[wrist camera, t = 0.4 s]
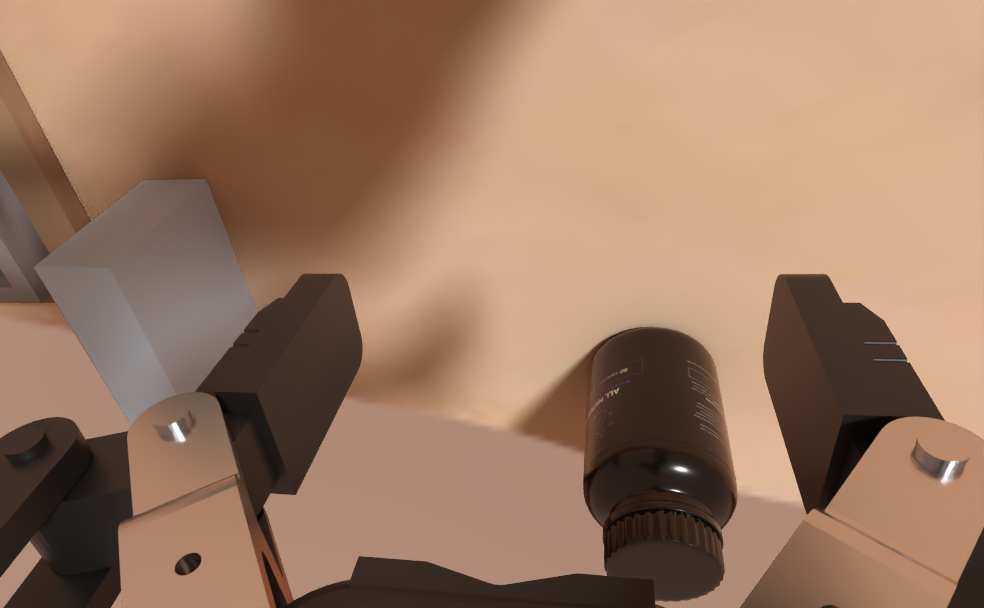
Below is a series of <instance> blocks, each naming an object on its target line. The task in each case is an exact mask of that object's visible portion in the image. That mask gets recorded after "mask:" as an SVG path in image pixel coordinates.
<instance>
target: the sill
mask: <svg viewBox="0 0 984 608" xmlns="http://www.w3.org/2000/svg"><path fill="white" fill-rule="evenodd" d="M88 223H90V220H89V218H88V216H87V215H86V213H85V211H84V209H83V207H82V205H81V203H80V201H79V199H78V197H77V196H76V194H75V192H74V190H73V188H72V186H71V184H70V182H69V180H68V178H67V177H66V175H65V173H64V171H63V169H62V167H61V165H60V163H59V161H58V160H57V158H56V156H55V154H54V152H53V150H52V148H51V146H50V144H49V142H48V141H47V139H46V137H45V135H44V133H43V131H42V129H41V127H40V125H39V123H38V122H37V120H36V118H35V116H34V114H33V112H32V110H31V108H30V106H29V104H28V103H27V101H26V99H25V97H24V95H23V93H22V91H21V89H20V87H19V85H18V84H17V82H16V80H15V78H14V76H13V74H12V72H11V70H10V68H9V67H8V65H7V63H6V61H5V59H4V57H3V55H2V53H1V51H0V302H13V303H42V302H55V301H54V299H53V298H52V296H51V294H50V293H49V291H48V290H47V288H46V286H45V285H44V283H43V281H42V280H41V278H40V277H39V275H38V273H37V272H36V270H35V269H34V266H36V265H37V264H38V263H39V262H41V261H42V260H43V259H44V258H46V257H47V256H48V255H49V254H51V253H52V252H53V251H55V250H56V249H57V248H58V247H60V246H61V245H62V244H63V243H65V242H66V241H67V240H68V239H70V238H71V237H72V236H73V235H75V234H76V233H77V232H78V231H80V230H81V229H82V228H83V227H85V226H86V225H87V224H88Z"/></svg>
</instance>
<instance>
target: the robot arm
mask: <svg viewBox="0 0 984 608" xmlns="http://www.w3.org/2000/svg"><path fill="white" fill-rule="evenodd" d="M896 342H897V341H896V340H895V338H894V336H893V335H892V333H891V331H890V330H889V328H888V326H887V325H886V323H885V321H884V320H882V319H881V318H880V317H878V316H877V315H876V314H874V313H873V312H872V311H870V310H869V309H867V308H866V307H865V306H863V305H862V304H861V303H843V302H842V300H841V298H840V296H839V295H838V293H837V291H836V289H835V287H834V285H833V284H832V282H831V280H830V278H829V277H828V276H827V275H826V274H780V275H779V276H778V277H777V280H776V283H775V287H774V292H773V298H772V304H771V309H770V315H769V321H768V326H767V332H766V338H765V343H764V352H763V366H764V375H765V380H766V383H767V386H768V390H769V393H770V396H771V399H772V403H773V406H774V409H775V413H776V416H777V419H778V422H779V426H780V429H781V432H782V435H783V439H784V442H785V445H786V448H787V452H788V455H789V458H790V462H791V465H792V468H793V471H794V475H795V478H796V481H797V484H798V488H799V491H800V494H801V497H802V501H803V504H804V507H805V510H806V514H807V516H806V517H805V519H804V520H803V521H802V523H801V524H800V525H799V527H798V528H797V530H796V531H795V532H794V534H793V535H792V536H791V538H790V539H789V541H788V542H787V543H786V545H785V546H784V547H783V549H782V550H781V552H780V553H779V554H778V556H777V557H776V558H775V560H774V561H773V563H772V564H771V565H770V567H769V568H768V570H767V571H766V572H765V574H764V575H763V576H762V578H761V579H760V581H759V582H758V583H757V585H756V586H755V587H754V589H753V590H752V592H751V593H750V594H749V596H748V597H747V598H746V600H745V601H744V603H743V604H742V605H741V607H740V608H984V440H983V439H982V438H980V437H979V436H978V435H976V434H974V433H972V432H971V431H969V430H967V429H965V428H963V427H960V426H958V425H955V424H953V423H950V422H947V421H945V420H944V418H943V417H942V415H941V413H940V412H939V410H938V409H937V407H936V405H935V404H934V402H933V400H932V399H931V397H930V395H929V394H928V392H927V390H926V389H925V387H924V386H923V384H922V382H921V381H920V379H919V377H918V376H917V374H916V372H915V371H914V369H913V367H912V366H911V364H910V363H907V358H906V356H905V354H904V353H903V351H902V349H901V348H900V346H899V345H896ZM361 359H362V338H361V333H360V330H359V326H358V322H357V318H356V314H355V310H354V306H353V302H352V298H351V294H350V290H349V286H348V282H347V280H346V278H345V277H344V276H343V275H342V274H303V275H302V276H301V277H300V278H299V279H298V281H297V282H296V283H295V284H294V286H293V287H292V288H291V290H290V291H289V292H288V294H287V295H286V296H285V298H278V299H277V300H275V301H274V302H272V303H271V304H269V305H268V306H267V307H265V308H264V309H262V310H261V311H259V312H258V313H257V314H256V315H255V316H254V318H253V319H252V320H251V321H250V323H249V324H248V325H247V326H246V328H245V329H244V333H241V334H240V335H239V336H238V338H237V339H236V340H235V342H234V343H233V347H230V348H229V349H228V350H227V352H226V353H225V354H224V355H223V357H222V358H221V359H220V361H219V362H218V363H217V364H216V366H215V367H214V368H213V369H212V371H211V372H210V373H209V374H208V376H207V377H206V378H205V379H204V381H203V382H202V383H201V385H200V386H199V387H198V388H197V390H196V391H195V392H189V393H183V394H178V395H175V396H172V397H169V398H166V399H164V400H162V401H160V402H158V403H156V404H154V405H153V406H151V407H149V408H148V409H147V410H145V411H144V412H143V413H142V414H141V415H140V416H138V417H137V418H136V420H135V421H134V422H133V423H132V425H131V427H130V429H129V431H127V432H122V433H117V434H112V435H107V436H102V437H97V438H92V439H86V440H85V438H84V437H83V435H82V433H81V432H80V430H79V428H78V427H77V425H76V424H75V423H74V422H73V421H72V420H70V419H67V418H61V417H54V418H46V419H41V420H38V421H34V422H32V423H29V424H26V425H23V426H21V427H19V428H17V429H15V430H13V431H11V432H9V433H8V434H6V435H5V436H3V437H2V438H0V577H1V576H2V575H3V573H4V572H5V571H6V570H7V568H8V567H9V566H10V564H11V563H12V562H13V561H14V559H15V558H16V557H17V556H18V554H19V553H20V552H21V551H22V549H23V548H24V547H25V546H26V544H27V543H28V542H29V541H30V542H31V543H32V544H33V546H34V547H35V548H36V550H37V551H38V552H39V553H40V555H41V556H42V558H41V559H40V560H39V562H38V563H37V564H36V566H35V567H34V568H33V570H32V571H31V572H30V574H29V575H28V576H27V578H26V579H25V580H24V582H23V583H22V584H21V585H20V587H19V588H18V589H17V591H16V592H15V594H14V595H13V596H12V597H11V599H10V600H9V601H8V603H7V604H6V605H5V607H4V608H111V606H112V605H113V603H114V601H115V600H116V598H117V596H118V595H119V593H120V592H121V595H122V608H664V607H662V606H659V605H656V604H655V594H654V580H652V579H639V578H627V577H614V576H601V575H588V574H571V575H564V576H558V577H552V578H545V579H539V580H533V581H526V582H520V583H514V584H507V585H494V584H490V583H487V582H484V581H481V580H478V579H476V578H473V577H470V576H467V575H464V574H461V573H458V572H455V571H452V570H449V569H447V568H444V567H441V566H438V565H435V564H432V563H429V562H425V561H411V560H399V559H386V558H374V557H362V556H359V558H358V560H357V563H356V566H355V568H354V571H353V574H352V577H351V579H350V580H346V581H341V582H338V583H334V584H331V585H327V586H325V587H322V588H319V589H317V590H314V591H312V592H309V593H307V594H306V595H304V596H302V597H300V598H298V599H296V600H294V599H293V596H292V593H291V590H290V587H289V584H288V581H287V578H286V574H285V571H284V568H283V564H282V561H281V558H280V555H279V552H278V548H277V545H276V542H275V538H274V535H273V532H272V529H271V525H270V522H269V519H268V516H267V514H266V511H265V509H264V507H263V506H264V504H265V502H266V500H267V498H268V497H269V495H270V493H275V494H290V495H296V493H297V491H298V489H299V487H300V485H301V483H302V481H303V479H304V477H305V475H306V473H307V471H308V469H309V467H310V465H311V463H312V461H313V459H314V457H315V455H316V453H317V451H318V449H319V447H320V445H321V443H322V441H323V439H324V437H325V435H326V433H327V431H328V429H329V427H330V425H331V423H332V421H333V419H334V417H335V415H336V413H337V411H338V409H339V407H340V405H341V403H342V401H343V399H344V397H345V395H346V393H347V391H348V389H349V387H350V385H351V383H352V381H353V379H354V377H355V375H356V373H357V371H358V369H359V367H360V364H361Z"/></svg>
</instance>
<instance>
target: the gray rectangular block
mask: <svg viewBox="0 0 984 608" xmlns="http://www.w3.org/2000/svg"><path fill="white" fill-rule="evenodd" d="M34 269H35V270H36V272H37V273H38V275H39V277H40V278H41V280H42V281H43V283H44V285H45V286H46V288H47V290H48V291H49V293H50V294H51V296H52V298H53V299H54V301H55V303H56V304H57V306H58V307H59V309H60V311H61V312H62V314H63V316H64V317H65V319H66V320H67V322H68V324H69V325H70V327H71V328H72V330H73V332H74V333H75V335H76V336H77V338H78V340H79V341H80V343H81V345H82V346H83V348H84V350H85V351H86V353H87V354H88V356H89V358H90V359H91V361H92V363H93V364H94V366H95V367H96V369H97V371H98V372H99V374H100V375H101V377H102V379H103V380H104V382H105V384H106V385H107V387H108V388H109V390H110V392H111V393H112V395H113V397H114V398H115V400H116V401H117V403H118V405H119V406H120V408H121V410H122V411H123V413H124V414H125V416H126V418H127V419H128V421H129V423H130V424H131V425H132V423H133V422H134V421H135V420H136V418H137V417H138V416H140V415H141V414H142V413H143V412H144V411H145V410H147V409H148V408H149V407H151V406H153V405H154V404H156V403H158V402H160V401H162V400H164V399H166V398H169V397H172V396H175V395H178V394H183V393H189V392H195V391H196V390H197V388H198V387H199V386H200V385H201V383H202V382H203V381H204V379H205V378H206V377H207V376H208V374H209V373H210V372H211V371H212V369H213V368H214V367H215V366H216V364H217V363H218V362H219V361H220V359H221V358H222V357H223V355H224V354H225V353H226V352H227V350H228V349H229V348H230V347H233V343H234V342H235V340H236V339H237V338H238V336H239V335H240V334H241V333H244V329H245V328H246V326H247V325H248V324H249V323H250V321H251V320H252V319H253V318H254V316H255V315H256V314H257V313H258V312H257V309H256V307H255V304H254V301H253V299H252V296H251V294H250V291H249V289H248V286H247V283H246V281H245V278H244V276H243V273H242V270H241V268H240V265H239V263H238V260H237V257H236V255H235V252H234V250H233V247H232V245H231V242H230V239H229V237H228V234H227V232H226V229H225V226H224V224H223V221H222V219H221V216H220V214H219V211H218V208H217V206H216V203H215V201H214V198H213V195H212V193H211V190H210V188H209V185H208V182H207V180H206V179H164V180H142V181H141V182H140V183H139V184H137V185H136V186H135V187H134V188H132V189H131V190H130V191H129V192H127V193H126V194H125V195H124V196H122V197H121V198H120V199H119V200H117V201H116V202H115V203H114V204H112V205H111V206H110V207H109V208H107V209H106V210H105V211H104V212H102V213H101V214H100V215H98V216H97V217H96V218H95V219H93V220H92V221H91V222H90V223H88V224H87V225H86V226H85V227H83V228H82V229H81V230H80V231H78V232H77V233H76V234H75V235H73V236H72V237H71V238H70V239H68V240H67V241H66V242H65V243H63V244H62V245H61V246H60V247H58V248H57V249H56V250H55V251H53V252H52V253H51V254H49V255H48V256H47V257H46V258H44V259H43V260H42V261H41V262H39V263H38V264H37V265H36V266H34Z"/></svg>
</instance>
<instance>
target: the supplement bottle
mask: <svg viewBox="0 0 984 608" xmlns="http://www.w3.org/2000/svg"><path fill="white" fill-rule="evenodd" d="M583 485H584V486H583V489H584V498H585V502H586V505H587V507H588V509H589V511H590V513H591V514H592V516H593V517H594V519H595V520H596V521H597V522H598V523H599V524H600V525H601V526H602V527H603V543H604V567H605V571H606V572H607V576H614V577H627V578H639V579H652V580H654V594H655V601H665V602H666V601H681V600H690V599H693V598H698V597H700V596H703V595H707V594H708V593H709V592H711V591H714V589H715V588H716V587H718V586H719V585H720V582H721V581H722V580H723V575H724V562H723V555H722V549H723V538H722V532H721V530H722V529H723V528H724V526H725V525H726V524H727V523H728V522H729V520H730V519H731V517H732V515H733V513H734V510H735V508H736V504H737V497H738V495H737V483H736V477H735V472H734V466H733V460H732V455H731V449H730V443H729V438H728V432H727V426H726V420H725V415H724V409H723V403H722V398H721V392H720V386H719V381H718V376H717V371H716V367H715V364H714V361H713V359H712V357H711V355H710V354H709V352H708V351H707V350H706V349H705V348H704V346H702V345H701V344H700V343H699V342H698V341H696V340H695V339H693V338H692V337H690V336H688V335H686V334H684V333H681V332H679V331H675V330H672V329H667V328H659V327H646V328H638V329H633V330H629V331H626V332H624V333H621V334H619V335H617V336H615V337H613V338H612V339H610V340H609V341H607V342H606V343H605V344H604V345H603V346H602V347H601V348H600V349H599V350H598V351H597V352H596V354H595V356H594V357H593V359H592V362H591V365H590V369H589V377H588V393H587V414H586V436H585V458H584V480H583Z"/></svg>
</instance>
